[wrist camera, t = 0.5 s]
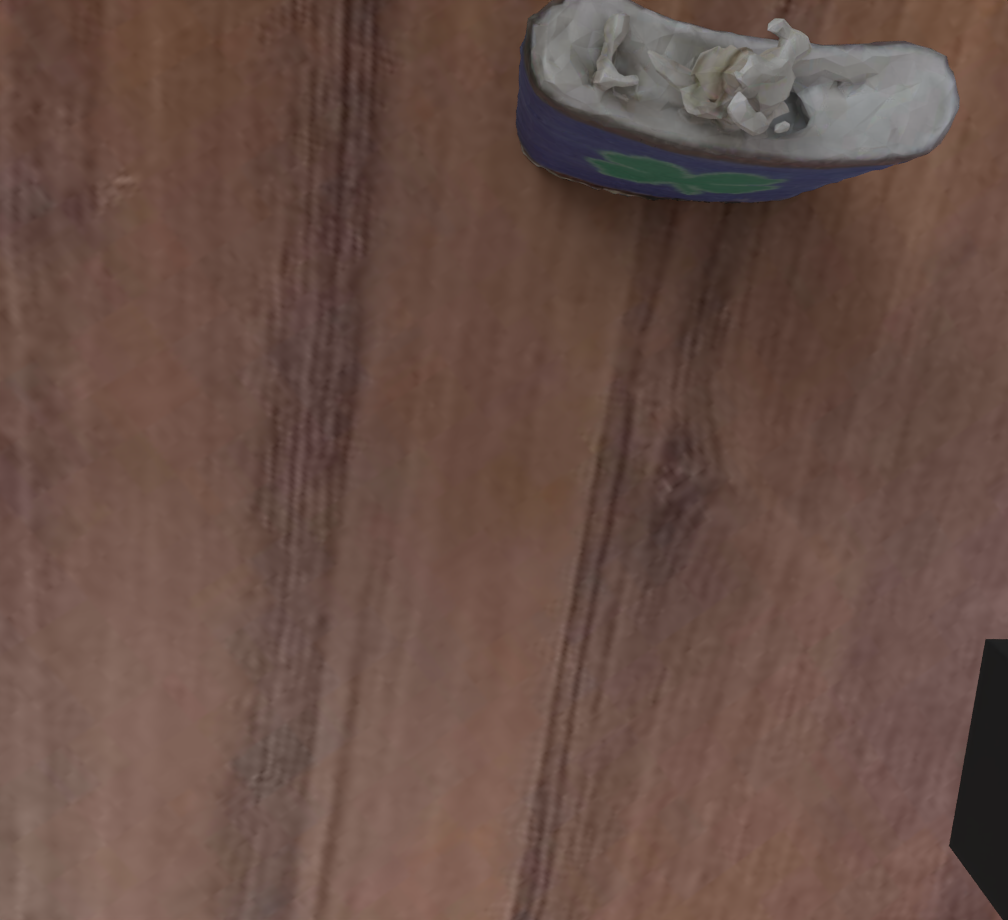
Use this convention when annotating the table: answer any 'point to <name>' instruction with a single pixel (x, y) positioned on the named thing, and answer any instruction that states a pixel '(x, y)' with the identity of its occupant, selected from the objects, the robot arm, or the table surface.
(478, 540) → the table surface
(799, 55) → the flask
